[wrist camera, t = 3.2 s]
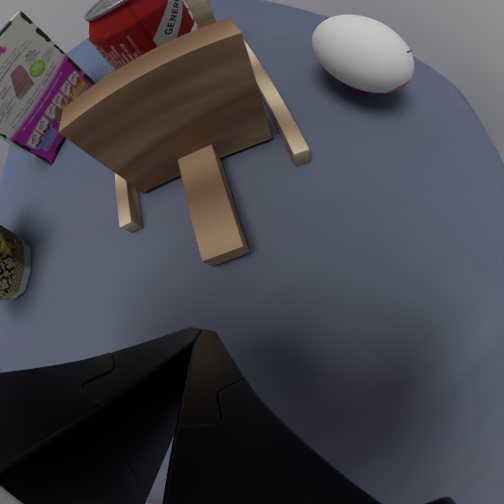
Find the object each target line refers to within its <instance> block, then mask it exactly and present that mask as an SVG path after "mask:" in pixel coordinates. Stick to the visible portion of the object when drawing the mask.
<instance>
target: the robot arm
mask: <svg viewBox="0 0 504 504" xmlns="http://www.w3.org/2000/svg"><path fill="white" fill-rule="evenodd" d="M173 436H174V438H173ZM172 439H173V444H172V449H171V455H170V461H169V467H168V473H167V479H166V485H165V491H164V498H163V504H381V503H380V502H379V501H377V500H376V499H374V498H373V497H371V496H370V495H369V494H367V493H366V492H365V491H363V490H362V489H361V488H359V487H358V486H357V485H355V484H354V483H353V482H351V481H350V480H349V479H348V478H346V477H345V476H344V475H342V474H341V473H340V472H339V471H338V470H336V469H335V468H334V467H333V466H331V465H330V464H329V463H328V462H327V461H325V460H324V459H323V458H322V457H321V456H320V455H318V454H317V453H316V452H315V451H314V450H313V449H312V448H310V447H309V446H308V445H307V444H306V443H305V442H304V441H303V440H302V439H301V438H299V437H298V436H297V435H296V434H295V433H294V432H293V431H292V430H291V429H290V428H289V427H288V426H287V425H286V424H284V423H283V422H282V421H281V420H280V419H279V418H278V417H277V416H276V415H275V414H274V413H273V412H272V411H271V410H270V409H269V408H268V407H267V406H266V404H265V403H264V402H263V401H262V400H261V399H260V398H259V397H258V395H257V394H256V393H255V391H254V390H253V389H252V387H251V386H250V384H249V383H248V381H247V380H246V379H245V378H244V376H243V374H242V373H241V371H240V370H239V368H238V367H237V365H236V364H235V362H234V360H233V359H232V357H231V356H230V354H229V353H228V351H227V349H226V348H225V346H224V345H223V343H222V341H221V340H220V338H219V336H218V335H217V333H216V332H215V331H211V330H203V331H202V330H201V329H198V328H192V327H189V328H186V329H184V330H181V331H178V332H175V333H172V334H169V335H166V336H163V337H160V338H157V339H154V340H151V341H147V342H144V343H141V344H138V345H135V346H132V347H128V348H125V349H122V350H119V351H115V352H112V353H107V354H103V355H100V356H96V357H92V358H88V359H84V360H80V361H75V362H70V363H64V364H59V365H53V366H46V367H40V368H33V369H26V370H19V371H11V372H2V373H0V504H145V503H146V500H147V498H148V495H149V493H150V491H151V488H152V486H153V484H154V481H155V479H156V477H157V474H158V472H159V469H160V467H161V465H162V462H163V460H164V458H165V455H166V453H167V450H168V448H169V446H170V443H171V441H172ZM426 504H456V503H455V502H454V501H453V500H452V498H450V497H443V498H439V499H436V500H434V501H431V502H428V503H426Z"/></svg>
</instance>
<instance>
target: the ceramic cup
mask: <svg viewBox="0 0 504 504" xmlns="http://www.w3.org/2000/svg"><path fill="white" fill-rule="evenodd" d="M30 272H31V251H30V246H29V245H28V244H27V243H26V242H25V241H24V240H23V239H22V238H21V237H20V236H18V235H16V234H15V233H13V232H11V231H9V230H7V229H6V228H4V227H3V226H1V225H0V300H8V299H15V298H16V297H18V296H19V295H20V294H22V293H23V292H25V290H26V287H27V283H28V279H29V276H30Z"/></svg>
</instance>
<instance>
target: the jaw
mask: <svg viewBox="0 0 504 504" xmlns="http://www.w3.org/2000/svg"><path fill="white" fill-rule="evenodd" d="M59 133H60V134H61V135H63V136H64V137H66V138H67V139H68V140H70V141H71V142H72V143H74V144H75V145H77V146H78V147H79V148H81V149H82V150H84V151H85V152H86V153H88V154H89V155H91V156H92V157H93V158H95V159H96V160H98V161H99V162H100V163H102V164H103V165H105V166H106V167H107V168H109V169H110V170H112V171H113V172H114V173H116V174H117V175H119V176H120V177H122V178H123V179H124V180H126V181H127V182H129V183H130V184H132V185H133V186H134V187H136V188H137V189H139V190H140V191H141V192H143V193H145V192H147V191H149V190H151V189H153V188H155V187H157V186H159V185H161V184H163V183H165V182H167V181H169V180H171V179H174V178H176V177H178V176H180V175H181V177H182V181H183V186H184V190H185V194H186V199H187V203H188V207H189V211H190V215H191V219H192V223H193V227H194V231H195V235H196V239H197V243H198V247H199V251H200V254H201V258H202V261H203V262H205V263H207V264H210V265H212V266H215V265H218V264H220V263H223V262H226V261H229V260H231V259H234V258H237V257H240V256H243V255H245V254H248V253H250V250H249V247H248V244H247V241H246V238H245V235H244V232H243V228H242V225H241V222H240V219H239V216H238V213H237V210H236V207H235V203H234V200H233V197H232V194H231V191H230V188H229V185H228V182H227V178H226V175H225V172H224V169H223V166H222V163H221V160H220V158H222V157H224V156H227V155H229V154H232V153H234V152H237V151H239V150H242V149H245V148H247V147H250V146H253V145H255V144H258V143H261V142H264V141H267V140H269V139H272V136H271V132H270V129H269V125H268V121H267V117H266V114H265V110H264V106H263V103H262V99H261V96H260V92H259V88H258V85H257V82H256V78H255V75H254V71H253V68H252V65H251V61H250V58H249V55H248V52H247V48H246V45H245V42H244V39H243V36H242V33H241V31H240V30H239V29H238V27H237V26H236V25H235V23H234V22H233V21H232V19H231V18H227V19H224V20H221V21H218V22H215V23H213V24H210V25H207V26H205V27H202V28H199V29H197V30H194V31H192V32H190V33H187V34H185V35H182V36H180V37H178V38H176V39H174V40H171V41H169V42H167V43H165V44H163V45H161V46H159V47H157V48H155V49H153V50H151V51H149V52H147V53H145V54H143V55H142V56H140V57H138V58H136V59H134V60H133V61H131V62H129V63H128V64H126V65H124V66H122V67H121V68H119V69H118V70H116V71H114V72H113V73H111V74H110V75H108V76H107V77H105V78H104V79H102V80H101V81H99V82H98V83H96V84H95V85H93V86H92V87H91V88H89V89H88V90H86V91H85V92H84V93H82V94H81V95H80V96H78V97H77V98H76V99H74V100H73V101H72V102H71V103H69V104H68V105H67V106H66V107H64V108H63V112H62V116H61V121H60V127H59Z"/></svg>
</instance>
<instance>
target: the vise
mask: <svg viewBox="0 0 504 504" xmlns="http://www.w3.org/2000/svg"><path fill="white" fill-rule="evenodd" d="M185 1H186V3H187V5H188V7H189V9H190V11H191V13H192V15H193V17H194V20H195V22H196V24H197V26H198V28H202V27H205V26H207V25H210V24H213V23H215V22H216V20H215V17H214V15H213V13H212V10H211V8H210V5H209V3H208V1H207V0H185ZM88 39H89V34H88ZM90 42H91V41H90ZM244 42H245V40H244ZM245 45H246V48H247V52H248V55H249V58H250V61H251V65H252V68H253V71H254V75H255V78H256V82H257V85H258V88H259V92H260V95H261V97H262V99H263V101H264V103H265V105H266V106H267V108H268V110H269V112H270V114H271V116H272V118H273V120H274V122H275V124H276V126H277V128H278V130H279V132H280V134H281V136H282V138H283V140H284V143H285V145H286V147H287V149H288V151H289V153H290V155H291V157H292V160H293V162H294V164H295V166H297V165H300V164H303V163H306V162H309V161H310V156H309V148H308V146H307V144H306V142H305V140H304V138H303V136H302V134H301V133H300V131H299V129H298V127H297V125H296V123H295V121H294V120H293V118H292V116H291V114H290V112H289V111H288V109H287V107H286V105H285V104H284V102H283V100H282V98H281V97H280V95H279V93H278V92H277V90H276V88H275V87H274V85H273V83H272V82H271V80H270V78H269V77H268V75H267V74H266V72H265V70H264V69H263V67H262V66H261V64H260V63H259V61H258V59H257V58H256V56H255V55H254V53H253V52H252V50H251V49H250V47H249V46H248V44H247V43H246V42H245ZM96 49H97V48H96ZM97 50H98V49H97ZM103 57H104V56H103ZM109 64H110V63H109ZM115 71H116V70H115ZM115 182H116V195H117V205H118V215H119V223H120V228H123V229H125V230H127V231H129V232H132V233H133V232H135V231H137V230H139V229H141V228H143V226H142V220H141V213H140V207H139V200H138V192H137V188H136V187H134V186H133V185H132V184H130V183H129V182H127V181H126V180H124V179H123V178H122V177H120V176H119V175H117V174H116V173H115Z"/></svg>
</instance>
